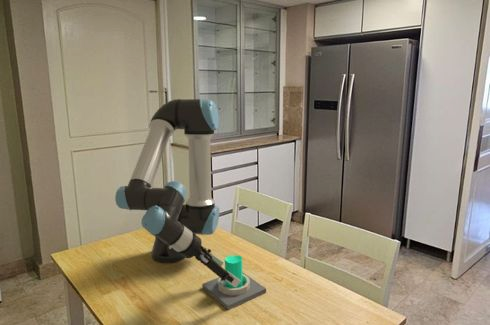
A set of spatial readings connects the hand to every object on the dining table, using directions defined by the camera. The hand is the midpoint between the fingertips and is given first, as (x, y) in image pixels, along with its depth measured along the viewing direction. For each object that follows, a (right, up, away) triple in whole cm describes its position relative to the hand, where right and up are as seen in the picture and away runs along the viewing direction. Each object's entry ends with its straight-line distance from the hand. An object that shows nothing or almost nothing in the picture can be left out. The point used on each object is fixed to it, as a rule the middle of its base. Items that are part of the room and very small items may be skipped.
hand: (229, 274), depth 121 cm
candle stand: (+2, -6, +3) cm, 7 cm away
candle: (+2, -5, +2) cm, 6 cm away
